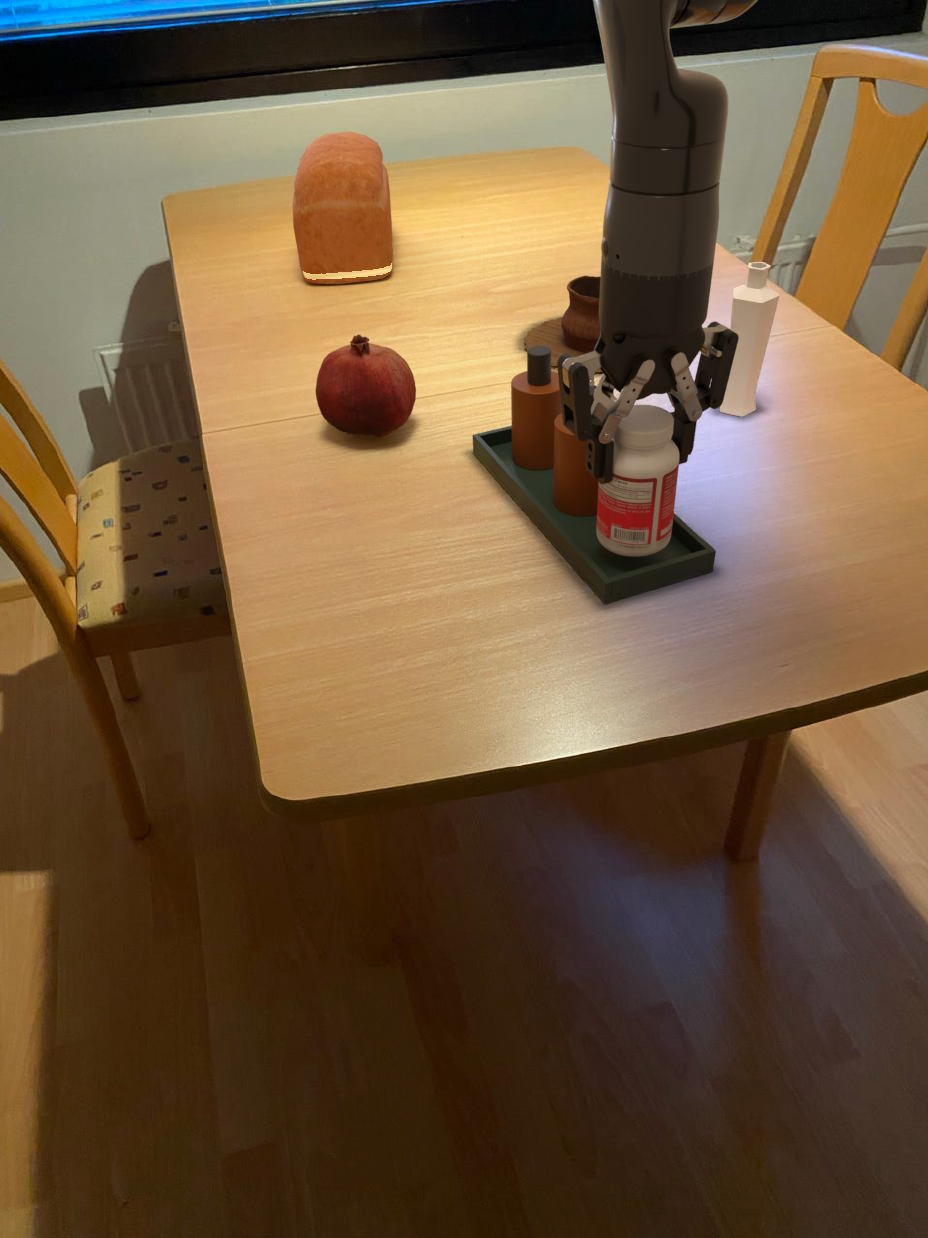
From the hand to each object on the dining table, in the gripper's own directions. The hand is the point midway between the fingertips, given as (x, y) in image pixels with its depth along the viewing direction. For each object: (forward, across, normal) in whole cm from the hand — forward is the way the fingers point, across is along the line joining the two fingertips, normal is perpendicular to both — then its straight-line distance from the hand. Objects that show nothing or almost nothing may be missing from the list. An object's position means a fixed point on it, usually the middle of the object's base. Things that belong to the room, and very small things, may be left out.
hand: (639, 468), depth 73 cm
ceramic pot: (+9, +19, +41) cm, 46 cm away
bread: (+9, +2, +88) cm, 88 cm away
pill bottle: (+7, 0, 0) cm, 7 cm away
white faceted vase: (+9, +24, +19) cm, 32 cm away
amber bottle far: (+8, 0, +18) cm, 20 cm away
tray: (+9, 0, +9) cm, 13 cm away
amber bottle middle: (+8, 0, +9) cm, 12 cm away
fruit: (+9, -13, +32) cm, 36 cm away
